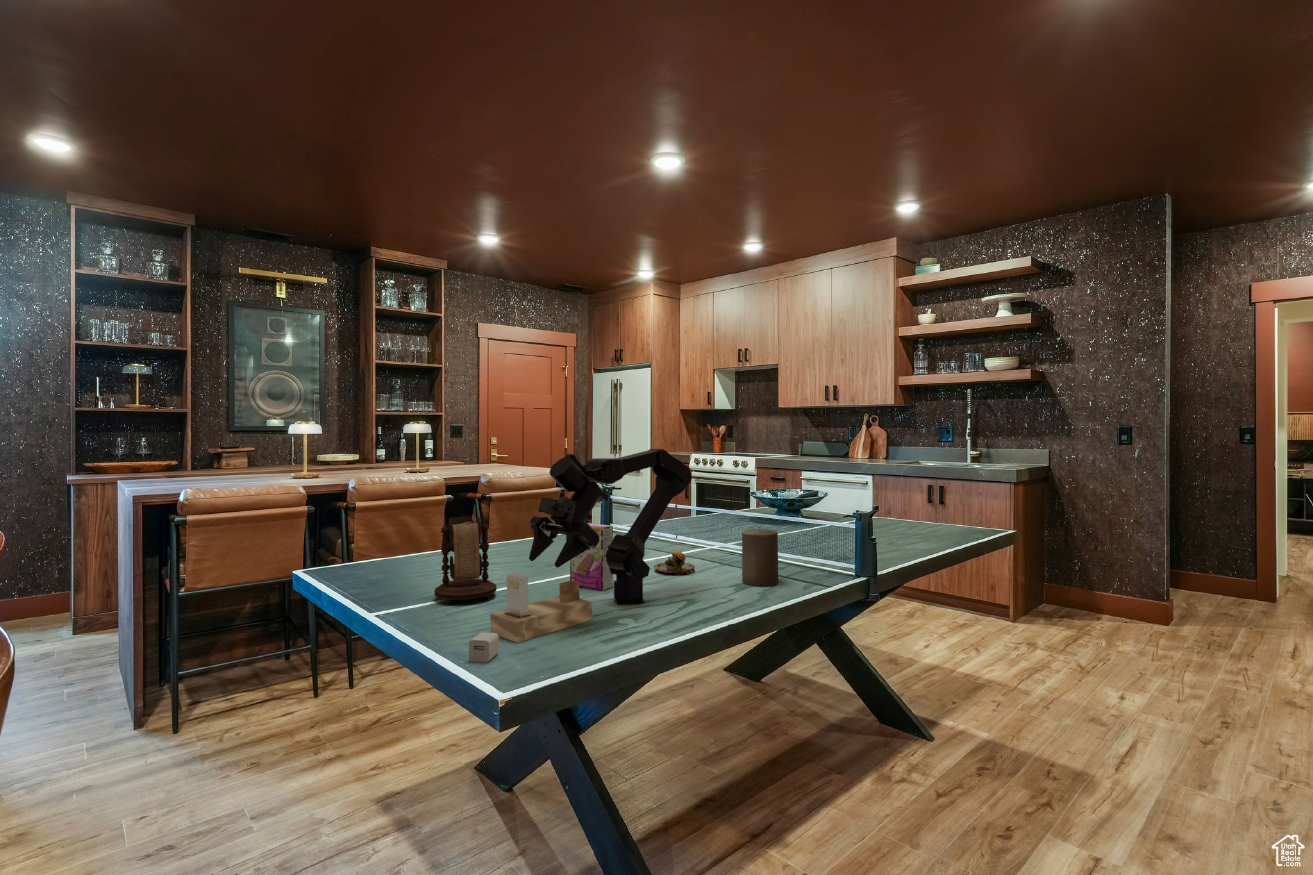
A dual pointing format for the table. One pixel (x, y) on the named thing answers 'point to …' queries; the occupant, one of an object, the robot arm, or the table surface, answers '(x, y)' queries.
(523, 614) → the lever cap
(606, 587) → the candy bar box
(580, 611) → the hand plane
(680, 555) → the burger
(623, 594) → the robot arm
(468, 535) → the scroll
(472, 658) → the usb wall charger
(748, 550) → the pillar candle
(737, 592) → the table surface
